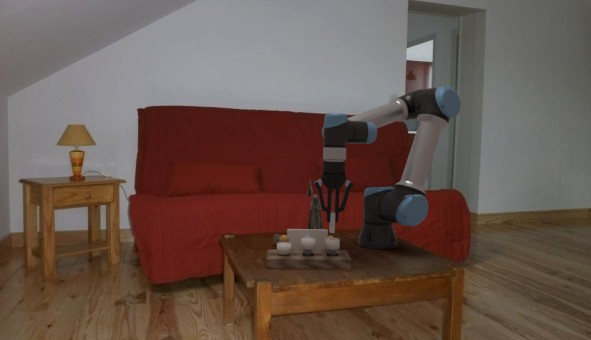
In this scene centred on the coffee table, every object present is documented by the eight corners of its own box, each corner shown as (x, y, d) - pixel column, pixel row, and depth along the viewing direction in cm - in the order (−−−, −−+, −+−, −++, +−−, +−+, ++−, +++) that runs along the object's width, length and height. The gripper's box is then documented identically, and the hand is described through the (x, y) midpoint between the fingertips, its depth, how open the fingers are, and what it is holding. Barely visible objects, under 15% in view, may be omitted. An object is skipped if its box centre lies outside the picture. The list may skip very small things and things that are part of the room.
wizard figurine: (302, 241, 173) (303, 179, 172) (298, 236, 182) (299, 178, 180) (327, 240, 175) (328, 179, 174) (322, 235, 184) (323, 178, 182)
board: (345, 258, 148) (346, 250, 148) (351, 269, 136) (351, 259, 136) (268, 258, 147) (268, 249, 147) (266, 268, 135) (266, 258, 135)
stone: (284, 251, 157) (285, 238, 157) (271, 244, 167) (272, 232, 167) (305, 249, 161) (306, 236, 161) (291, 242, 171) (292, 230, 171)
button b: (314, 254, 144) (315, 237, 143) (315, 258, 139) (316, 240, 139) (300, 254, 144) (300, 237, 143) (301, 258, 139) (301, 240, 138)
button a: (338, 254, 144) (338, 237, 144) (340, 258, 139) (340, 240, 139) (324, 254, 144) (324, 237, 143) (325, 258, 139) (326, 240, 139)
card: (334, 258, 149) (335, 229, 148) (334, 258, 147) (335, 230, 147) (279, 257, 148) (279, 228, 147) (279, 258, 147) (279, 229, 146)
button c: (291, 259, 144) (291, 242, 143) (291, 263, 139) (291, 245, 139) (276, 259, 144) (277, 242, 143) (276, 263, 139) (276, 245, 138)
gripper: (352, 160, 143) (349, 230, 145) (313, 159, 143) (311, 229, 144) (356, 161, 136) (353, 235, 137) (315, 160, 136) (313, 234, 137)
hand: (331, 232), depth 141 cm, fingers closed
